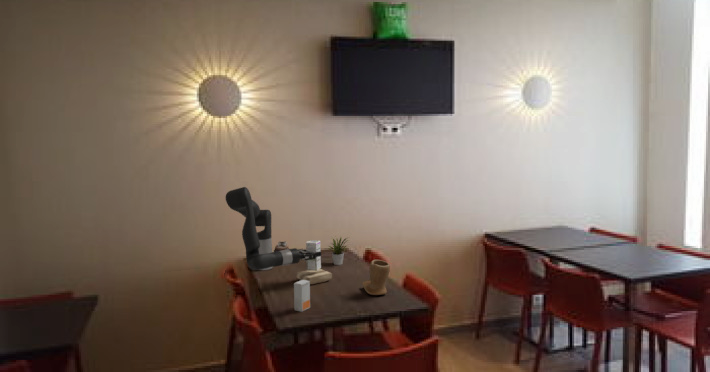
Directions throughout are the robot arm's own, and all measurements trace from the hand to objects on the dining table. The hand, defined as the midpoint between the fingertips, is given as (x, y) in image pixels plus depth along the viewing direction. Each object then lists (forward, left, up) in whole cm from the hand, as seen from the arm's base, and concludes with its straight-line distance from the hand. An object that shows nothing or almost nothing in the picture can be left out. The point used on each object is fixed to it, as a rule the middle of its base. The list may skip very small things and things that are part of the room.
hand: (316, 252), depth 250 cm
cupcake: (-52, +6, -15) cm, 55 cm away
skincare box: (+32, -27, -15) cm, 44 cm away
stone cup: (+34, +12, -15) cm, 39 cm away
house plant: (-18, +26, -15) cm, 35 cm away
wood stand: (0, -2, -14) cm, 15 cm away
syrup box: (0, -2, -9) cm, 9 cm away
